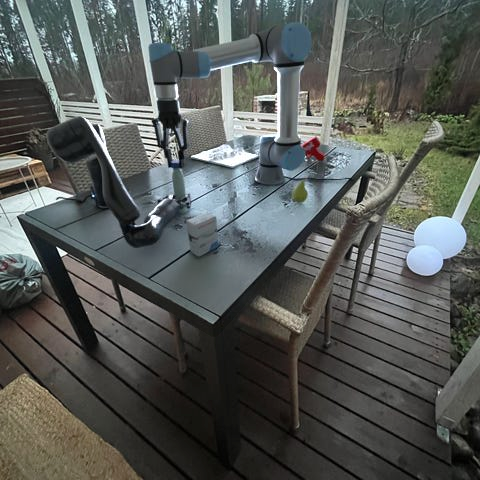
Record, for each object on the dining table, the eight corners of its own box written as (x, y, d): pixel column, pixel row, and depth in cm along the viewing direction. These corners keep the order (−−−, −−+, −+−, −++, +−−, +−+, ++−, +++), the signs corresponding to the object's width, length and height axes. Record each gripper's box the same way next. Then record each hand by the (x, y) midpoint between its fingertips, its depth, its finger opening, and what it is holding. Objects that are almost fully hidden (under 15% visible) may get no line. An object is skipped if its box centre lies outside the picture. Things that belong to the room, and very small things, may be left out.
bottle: (187, 208, 117) (181, 160, 106) (188, 212, 113) (182, 163, 102) (176, 209, 116) (169, 161, 105) (177, 214, 112) (169, 164, 101)
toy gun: (328, 156, 170) (316, 135, 166) (328, 158, 166) (315, 136, 162) (303, 171, 180) (291, 152, 176) (302, 173, 176) (290, 153, 172)
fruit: (288, 200, 123) (290, 174, 116) (302, 197, 125) (305, 172, 119) (296, 206, 118) (299, 179, 111) (310, 203, 120) (314, 177, 114)
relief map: (232, 167, 162) (232, 159, 160) (191, 158, 180) (190, 150, 177) (257, 157, 181) (258, 149, 178) (218, 149, 198) (217, 142, 196)
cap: (181, 164, 107) (181, 159, 106) (182, 168, 103) (181, 162, 102) (170, 165, 106) (169, 160, 105) (171, 168, 102) (170, 163, 101)
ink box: (209, 241, 95) (207, 210, 88) (218, 246, 92) (217, 215, 85) (189, 251, 90) (185, 219, 83) (198, 257, 87) (195, 225, 80)
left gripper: (182, 204, 96) (198, 187, 110) (145, 201, 99) (165, 184, 113) (184, 223, 100) (200, 203, 114) (149, 219, 103) (168, 201, 117)
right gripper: (195, 98, 93) (200, 165, 106) (149, 97, 97) (160, 162, 109) (186, 100, 87) (194, 171, 100) (138, 99, 90) (151, 168, 103)
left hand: (182, 194), depth 113 cm, fingers closed on bottle, 4 cm apart
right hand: (176, 166), depth 105 cm, fingers closed on cap, 4 cm apart
